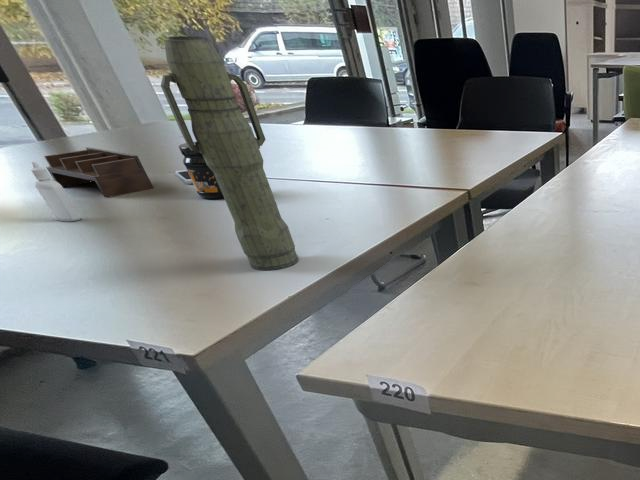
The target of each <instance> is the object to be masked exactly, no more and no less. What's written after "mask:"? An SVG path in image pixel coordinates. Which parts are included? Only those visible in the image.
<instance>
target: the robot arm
mask: <svg viewBox="0 0 640 480" xmlns="http://www.w3.org/2000/svg"><path fill="white" fill-rule="evenodd" d="M9 78H10V77H8V75H7V73H6V72H5V70H4V69H3V67H2V65H1V64H0V83H9V82H10V79H9Z"/></svg>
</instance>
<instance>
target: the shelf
mask: <svg viewBox="0 0 640 480" xmlns="http://www.w3.org/2000/svg"><path fill="white" fill-rule="evenodd" d="M44 159H45V160H46V162H47V164H48V166H46V167H45V169H46V170H47V172H48V174H49V175H50V177H51V179H52V180H54V181H56V182H58V183H59V184H60V185H61V186H62V187H63V188H66V187H65V186H67V187H71V185H72V186H77V185H76V184H78V185H81V184H80V183H83V184H86V183H85V182H88V183H91V182H90V181H94V182H95V184H96V185H97V187H98V189H99V190H100V191H99V192H101V194H102V196H103V197H104V198H106V197H108V198H111V197H110V196H112V197H118V196H121V194H122V195H126V193H127V194H131V193H135V192H136V193H137V192H140V191H145V190H149V189H153V188H154V186H153V184H152V182H151V179H150V177H149V175H148V174H147V172H146V170H145V168H144V166H143V164H142V162H141V160H140V158H139V156H138V155H136V154H130V153H124V152H118V151H113V150H106V149H101V148H95V147H90V146H89V147H88V146H87V147H85V149H83V150H81V149H80V150H75V151H69V152H62V153H55V154H48V155H44Z"/></svg>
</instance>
